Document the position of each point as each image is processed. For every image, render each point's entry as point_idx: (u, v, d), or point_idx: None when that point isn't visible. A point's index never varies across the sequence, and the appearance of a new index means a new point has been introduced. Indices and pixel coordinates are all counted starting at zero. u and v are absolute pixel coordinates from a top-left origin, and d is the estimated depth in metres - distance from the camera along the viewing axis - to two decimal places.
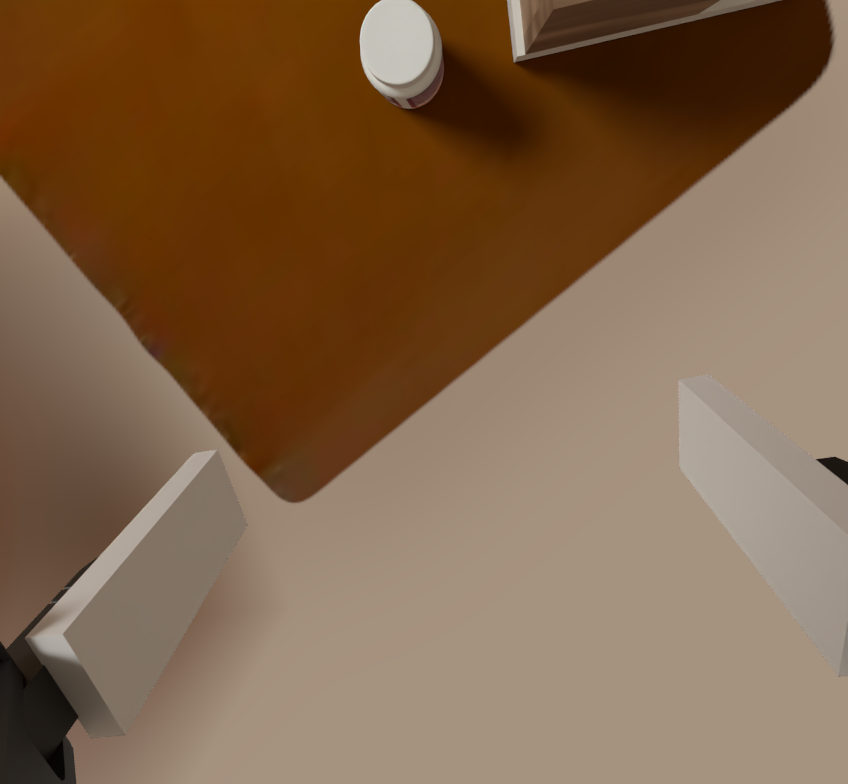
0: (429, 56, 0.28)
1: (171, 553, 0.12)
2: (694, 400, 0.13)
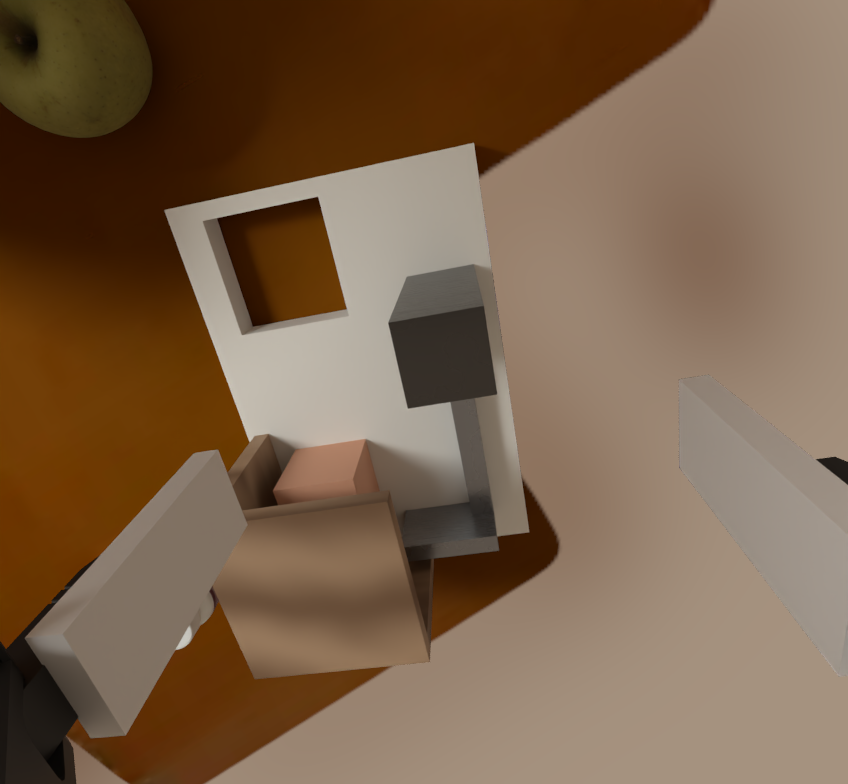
0: (190, 637, 0.35)
1: (171, 553, 0.12)
2: (694, 400, 0.13)
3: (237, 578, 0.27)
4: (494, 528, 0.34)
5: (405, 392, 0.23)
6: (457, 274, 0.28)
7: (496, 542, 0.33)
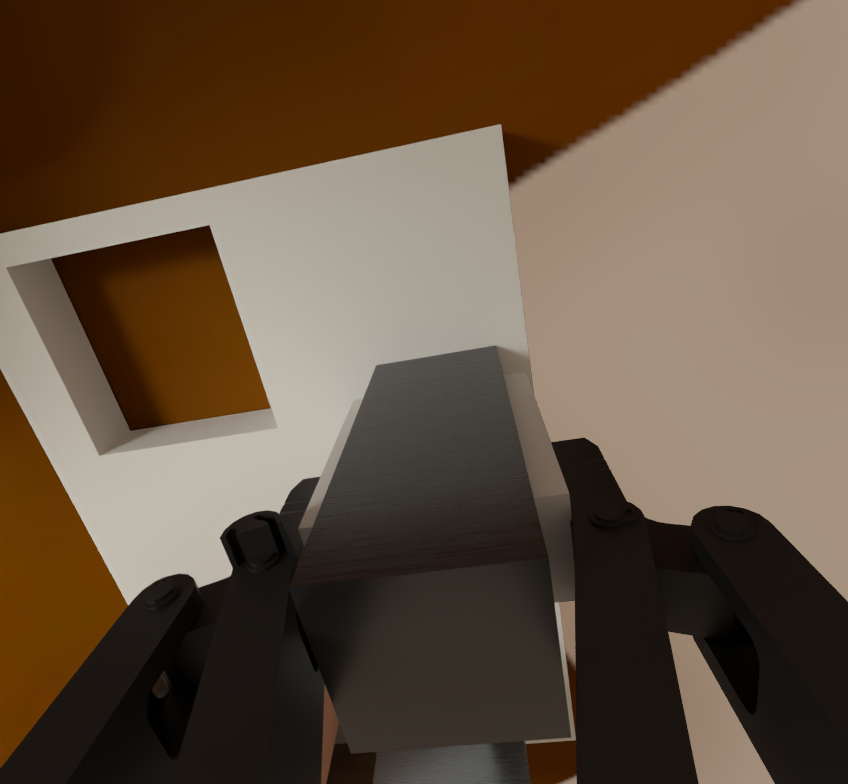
0: None
1: None
2: None
3: None
4: (526, 773, 0.20)
5: (344, 724, 0.09)
6: (467, 375, 0.15)
7: None
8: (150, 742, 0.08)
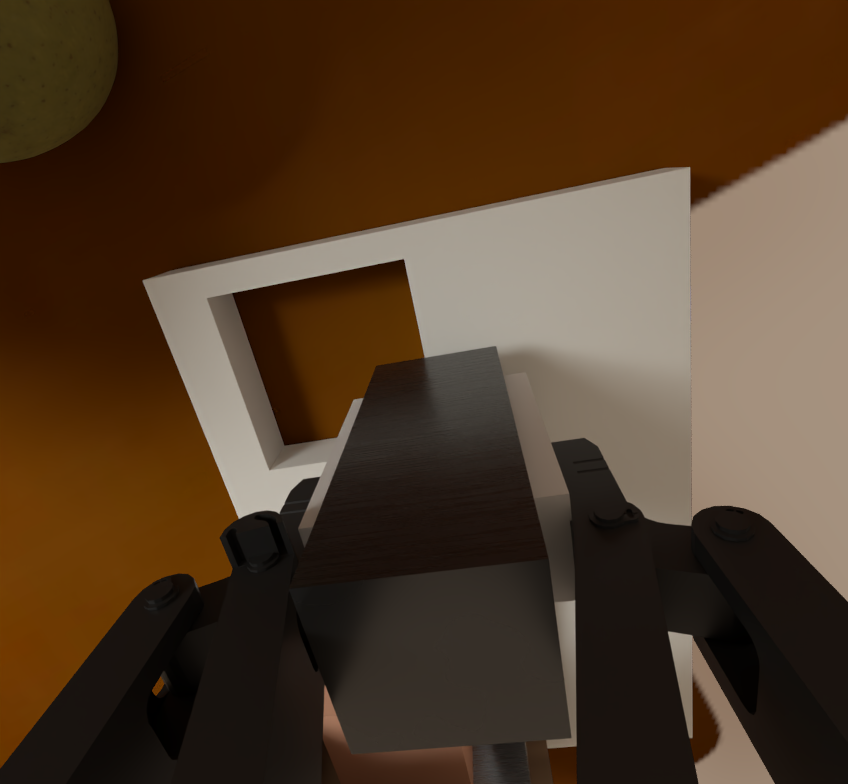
0: None
1: None
2: None
3: None
4: (526, 774, 0.20)
5: (344, 725, 0.09)
6: (467, 376, 0.15)
7: None
8: (150, 742, 0.08)
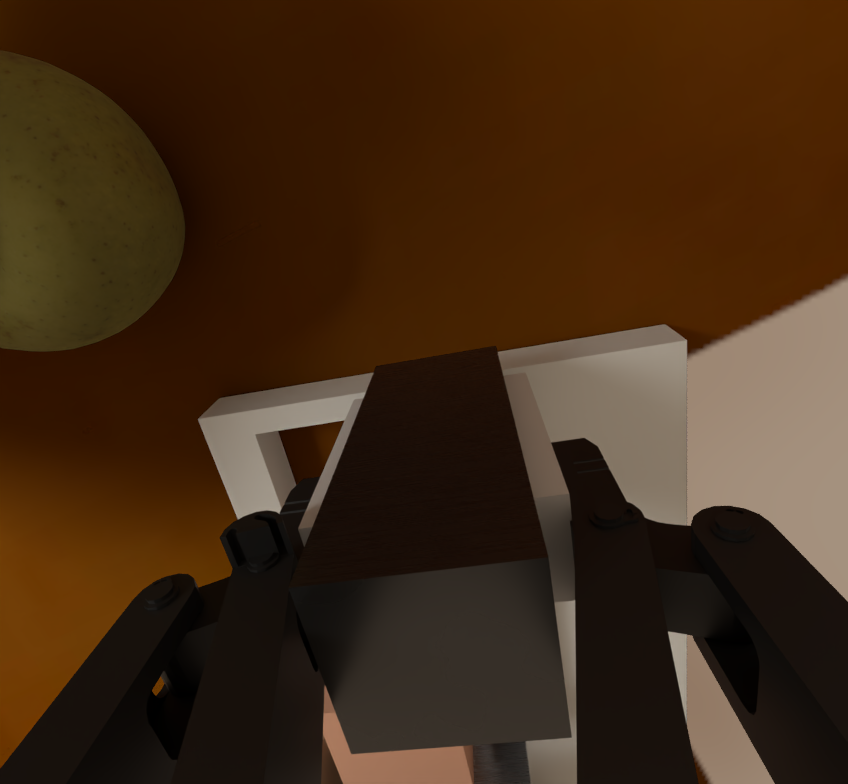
0: None
1: None
2: None
3: None
4: (527, 775, 0.20)
5: (344, 724, 0.09)
6: (467, 376, 0.15)
7: None
8: (150, 742, 0.08)
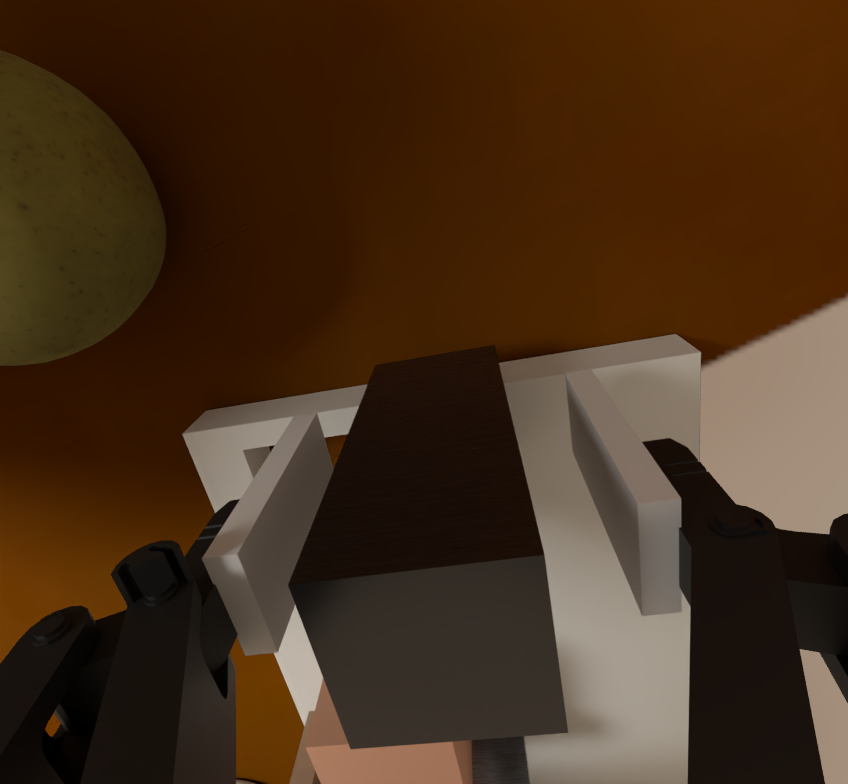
0: None
1: (294, 499, 0.13)
2: (572, 391, 0.14)
3: None
4: (525, 771, 0.20)
5: (343, 720, 0.09)
6: (466, 375, 0.15)
7: None
8: (48, 778, 0.08)
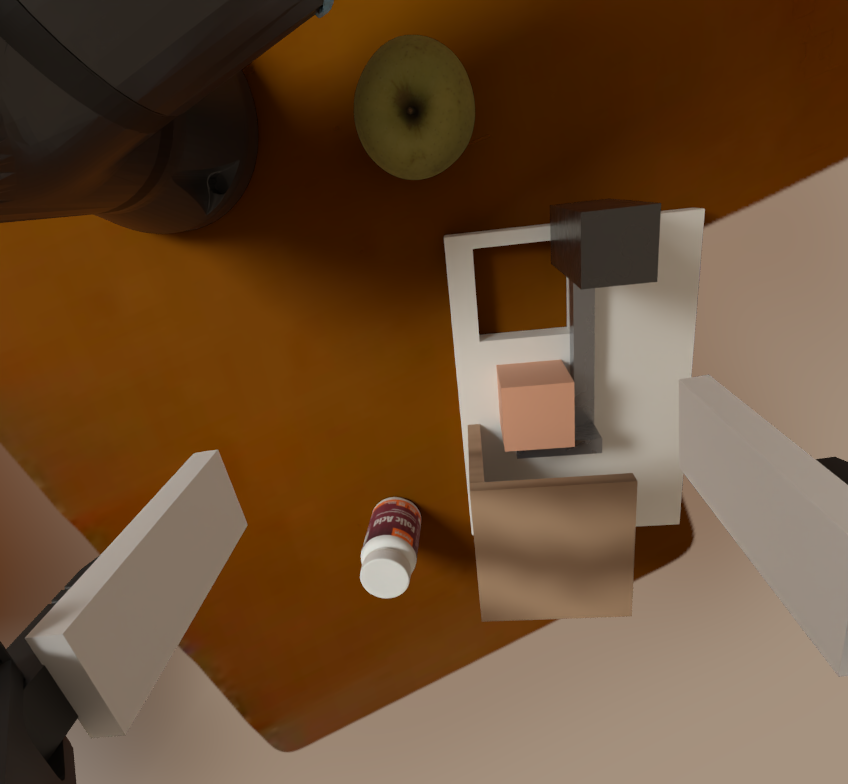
0: (405, 588, 0.41)
1: (171, 553, 0.12)
2: (694, 400, 0.13)
3: (497, 534, 0.34)
4: (598, 434, 0.39)
5: (582, 274, 0.28)
6: (602, 201, 0.34)
7: (601, 445, 0.38)
8: None
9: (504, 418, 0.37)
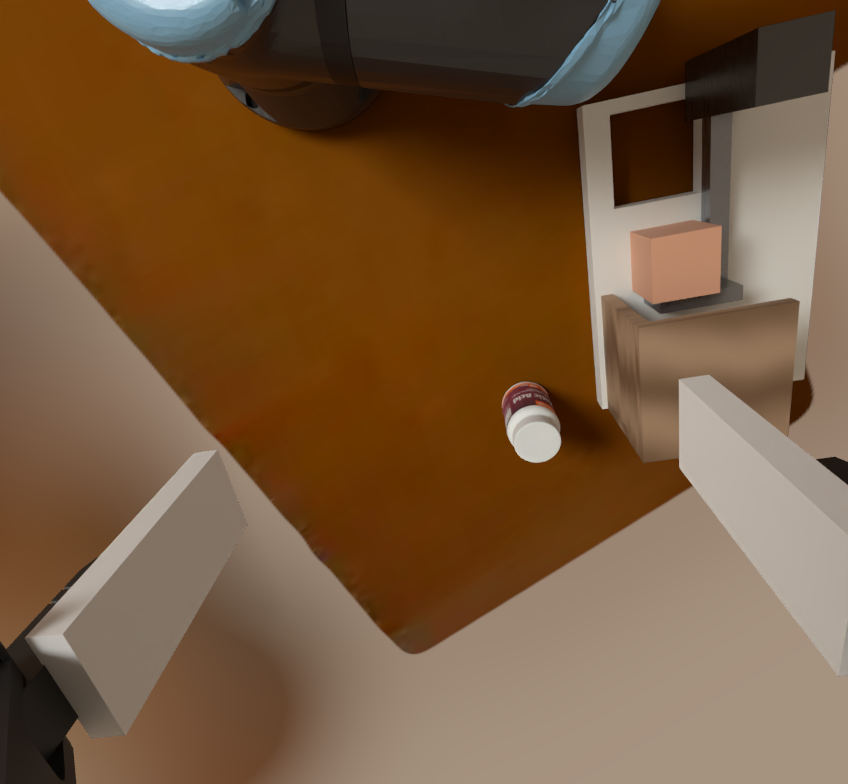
0: (557, 450, 0.44)
1: (171, 553, 0.12)
2: (694, 400, 0.13)
3: (662, 370, 0.37)
4: (737, 283, 0.41)
5: (756, 92, 0.30)
6: None
7: (741, 291, 0.41)
8: None
9: (653, 269, 0.39)
